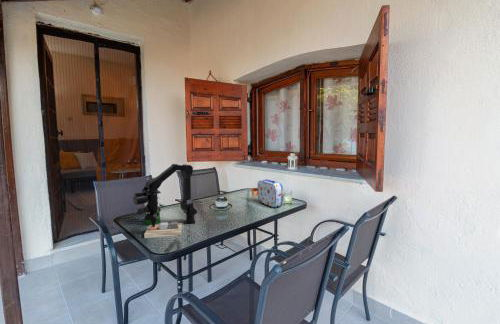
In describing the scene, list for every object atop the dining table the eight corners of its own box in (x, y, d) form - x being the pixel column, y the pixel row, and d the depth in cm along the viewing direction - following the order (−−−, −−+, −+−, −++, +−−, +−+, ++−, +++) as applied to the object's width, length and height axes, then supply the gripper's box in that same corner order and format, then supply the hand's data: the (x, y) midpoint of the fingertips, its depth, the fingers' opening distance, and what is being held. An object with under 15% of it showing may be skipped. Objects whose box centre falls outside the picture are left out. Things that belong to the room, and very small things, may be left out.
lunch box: (285, 207, 203) (286, 181, 201) (275, 210, 197) (276, 182, 195) (265, 200, 226) (265, 176, 223) (256, 202, 220) (256, 177, 218)
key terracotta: (151, 231, 153) (150, 225, 152) (158, 230, 153) (157, 225, 153) (149, 233, 149) (149, 228, 148) (156, 233, 150) (156, 227, 149)
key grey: (161, 228, 154) (161, 222, 153) (168, 227, 154) (167, 222, 154) (160, 230, 150) (160, 225, 149) (167, 229, 151) (166, 224, 150)
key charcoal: (171, 227, 155) (171, 222, 154) (178, 226, 156) (177, 221, 155) (170, 229, 151) (170, 224, 151) (177, 229, 152) (177, 223, 151)
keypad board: (149, 229, 157) (149, 225, 157) (182, 226, 161) (181, 223, 161) (144, 238, 144) (144, 233, 143) (180, 235, 147) (180, 231, 147)
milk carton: (150, 226, 162) (148, 196, 160) (143, 223, 168) (141, 194, 165) (162, 222, 169) (161, 194, 166) (155, 220, 174) (153, 192, 172)
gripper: (141, 198, 157) (143, 222, 158) (134, 206, 139) (135, 233, 140) (160, 197, 159) (161, 221, 160) (155, 205, 141) (156, 232, 142)
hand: (153, 226), depth 151 cm, fingers closed
